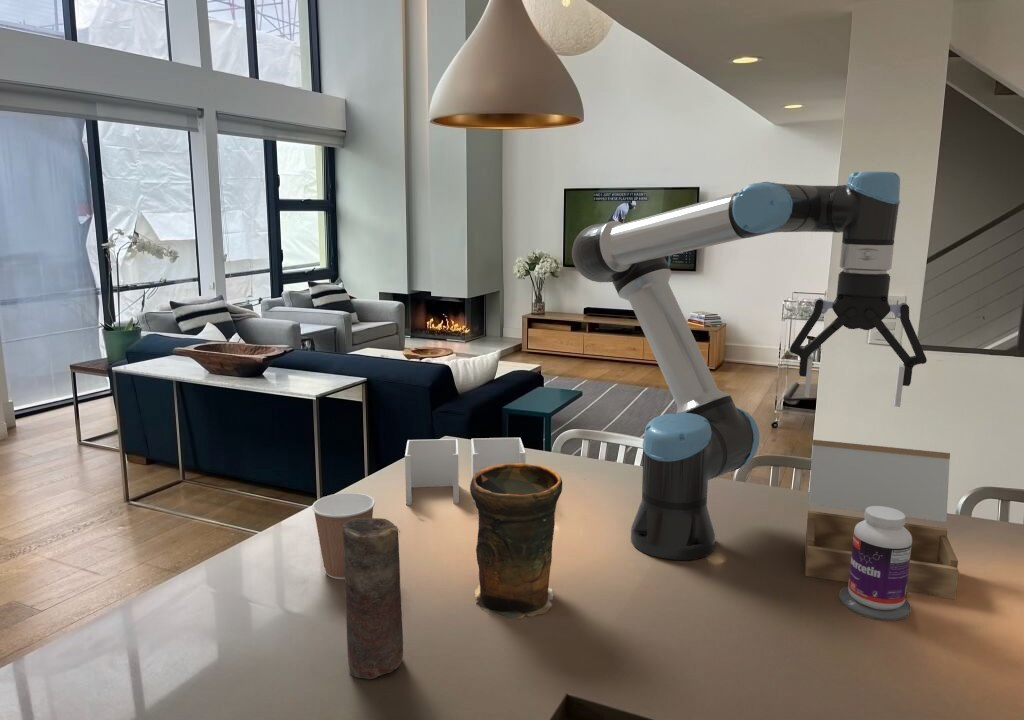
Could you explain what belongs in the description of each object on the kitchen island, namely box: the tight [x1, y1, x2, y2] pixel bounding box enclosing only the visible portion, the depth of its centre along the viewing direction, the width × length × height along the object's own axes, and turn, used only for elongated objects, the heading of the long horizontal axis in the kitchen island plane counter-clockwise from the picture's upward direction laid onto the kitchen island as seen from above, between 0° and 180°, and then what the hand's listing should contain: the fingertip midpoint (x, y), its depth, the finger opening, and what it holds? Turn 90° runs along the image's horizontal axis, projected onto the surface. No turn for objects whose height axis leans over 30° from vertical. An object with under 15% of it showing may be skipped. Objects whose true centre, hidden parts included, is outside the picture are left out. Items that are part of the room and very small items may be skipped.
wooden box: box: [804, 510, 959, 600], centre depth 127 cm, size 22×12×7 cm, turn 69°
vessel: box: [469, 463, 563, 620], centre depth 117 cm, size 14×14×20 cm
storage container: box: [404, 437, 527, 506], centre depth 162 cm, size 25×11×11 cm, turn 95°
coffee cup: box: [311, 492, 376, 580], centre depth 126 cm, size 10×10×12 cm
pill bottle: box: [847, 506, 912, 610], centre depth 115 cm, size 8×8×14 cm
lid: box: [808, 439, 951, 523], centre depth 133 cm, size 22×12×1 cm
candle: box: [343, 517, 404, 680], centre depth 99 cm, size 8×7×20 cm
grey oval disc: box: [839, 585, 912, 621], centre depth 117 cm, size 10×10×1 cm
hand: (850, 400), depth 124 cm, fingers open, 13 cm apart
